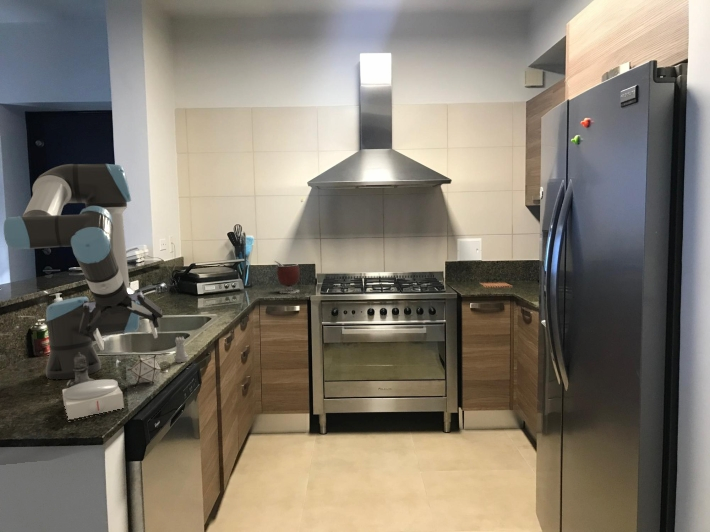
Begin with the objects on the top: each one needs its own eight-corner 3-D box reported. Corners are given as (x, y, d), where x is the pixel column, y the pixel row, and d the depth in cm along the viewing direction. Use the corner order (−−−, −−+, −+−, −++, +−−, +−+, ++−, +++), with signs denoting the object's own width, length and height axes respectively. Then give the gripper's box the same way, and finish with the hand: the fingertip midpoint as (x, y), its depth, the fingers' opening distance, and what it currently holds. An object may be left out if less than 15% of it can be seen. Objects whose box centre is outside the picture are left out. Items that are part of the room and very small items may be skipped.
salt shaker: (84, 399, 130) (80, 355, 128) (66, 398, 131) (61, 354, 130) (100, 391, 135) (96, 348, 134) (82, 390, 137) (77, 348, 135)
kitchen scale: (63, 404, 126) (61, 385, 126) (114, 393, 133) (113, 375, 132) (68, 422, 114) (66, 401, 114) (124, 408, 121) (122, 389, 121)
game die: (148, 397, 139) (135, 377, 132) (130, 383, 143) (117, 363, 136) (173, 375, 144) (162, 355, 137) (155, 362, 148) (143, 341, 141)
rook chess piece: (176, 359, 163) (174, 336, 163) (190, 358, 164) (188, 335, 163) (172, 363, 159) (170, 339, 158) (186, 362, 159) (184, 338, 159)
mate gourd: (303, 290, 312) (301, 259, 310) (296, 293, 298) (294, 261, 296) (280, 290, 315) (278, 259, 313) (272, 294, 301) (270, 261, 299)
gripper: (48, 306, 113) (78, 362, 127) (162, 284, 120) (178, 339, 134) (51, 285, 118) (79, 340, 132) (159, 265, 125) (175, 320, 139)
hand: (129, 340), depth 133 cm, fingers open, 13 cm apart
